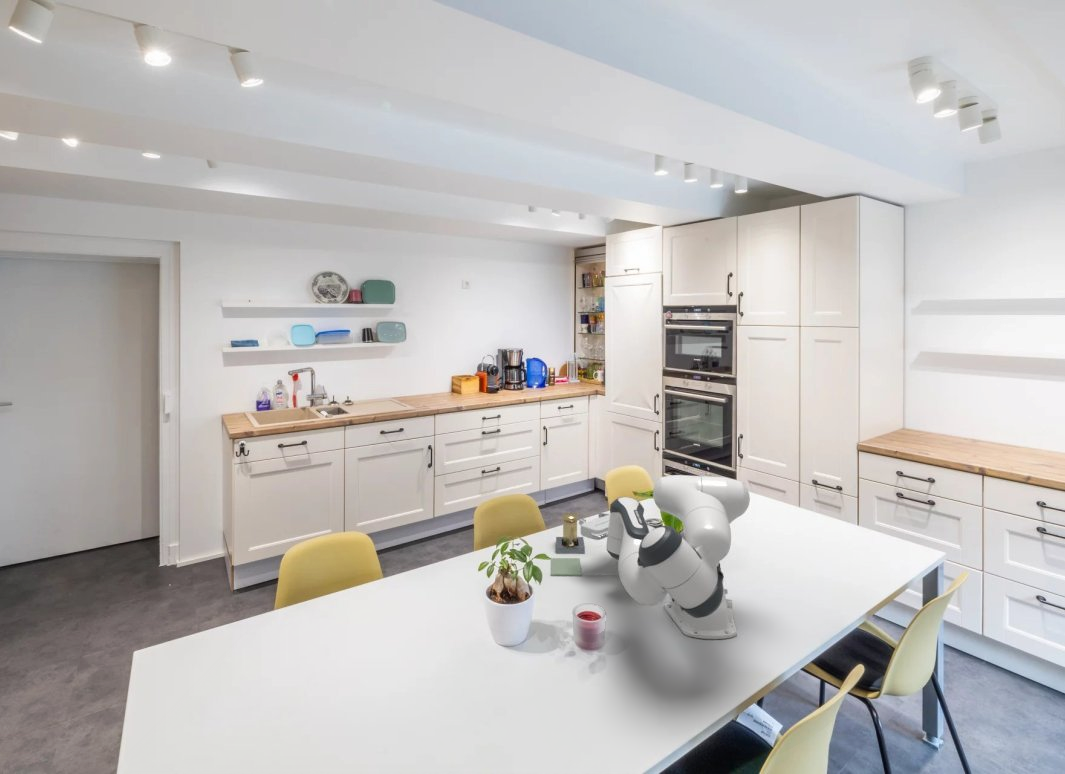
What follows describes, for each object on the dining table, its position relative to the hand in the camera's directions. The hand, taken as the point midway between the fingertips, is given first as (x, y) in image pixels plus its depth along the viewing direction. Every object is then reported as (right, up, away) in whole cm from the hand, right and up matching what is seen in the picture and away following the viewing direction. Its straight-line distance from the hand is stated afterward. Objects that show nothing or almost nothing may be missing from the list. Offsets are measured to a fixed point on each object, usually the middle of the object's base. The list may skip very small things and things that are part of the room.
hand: (590, 518), depth 186 cm
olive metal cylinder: (-6, -13, +12) cm, 19 cm away
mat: (-9, -16, -3) cm, 18 cm away
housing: (-6, -14, +12) cm, 19 cm away
